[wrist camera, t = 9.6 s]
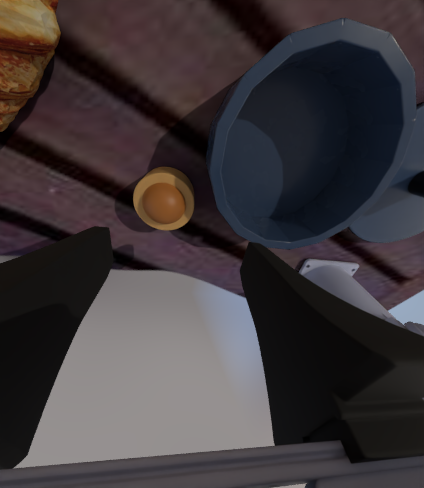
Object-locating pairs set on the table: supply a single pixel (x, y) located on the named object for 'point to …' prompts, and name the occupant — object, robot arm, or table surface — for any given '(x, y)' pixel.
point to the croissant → (24, 51)
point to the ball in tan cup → (164, 198)
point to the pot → (312, 134)
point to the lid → (399, 197)
